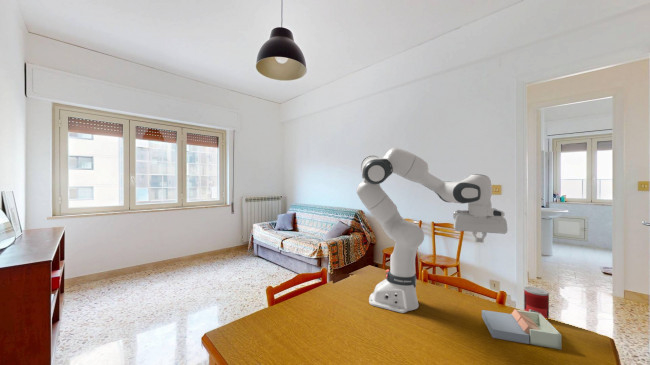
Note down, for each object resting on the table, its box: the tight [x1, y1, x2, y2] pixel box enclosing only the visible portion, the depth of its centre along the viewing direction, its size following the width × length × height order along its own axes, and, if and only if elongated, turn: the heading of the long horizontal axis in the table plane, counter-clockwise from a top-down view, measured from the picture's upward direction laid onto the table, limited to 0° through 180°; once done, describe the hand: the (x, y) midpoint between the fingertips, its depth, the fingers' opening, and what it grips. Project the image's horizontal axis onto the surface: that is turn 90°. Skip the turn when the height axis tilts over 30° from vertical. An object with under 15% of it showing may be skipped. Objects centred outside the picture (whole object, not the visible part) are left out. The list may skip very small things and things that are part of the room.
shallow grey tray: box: [481, 309, 530, 345], centre depth 97 cm, size 11×15×3 cm
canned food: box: [523, 286, 550, 320], centre depth 107 cm, size 8×8×11 cm
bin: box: [516, 309, 562, 350], centre depth 94 cm, size 9×15×5 cm, turn 161°
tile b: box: [518, 317, 540, 335], centre depth 91 cm, size 6×6×2 cm
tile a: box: [511, 308, 538, 327], centre depth 98 cm, size 6×6×2 cm
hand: (479, 242), depth 112 cm, fingers closed
